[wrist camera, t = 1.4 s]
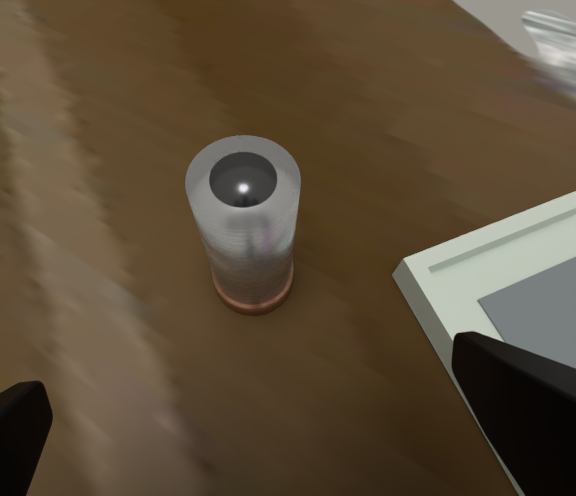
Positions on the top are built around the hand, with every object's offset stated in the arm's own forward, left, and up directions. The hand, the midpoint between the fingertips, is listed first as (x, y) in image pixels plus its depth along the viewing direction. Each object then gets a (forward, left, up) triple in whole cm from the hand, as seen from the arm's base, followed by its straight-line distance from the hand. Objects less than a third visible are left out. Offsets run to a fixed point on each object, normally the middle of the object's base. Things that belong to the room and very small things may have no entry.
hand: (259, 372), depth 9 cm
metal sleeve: (+2, +7, -13) cm, 16 cm away
